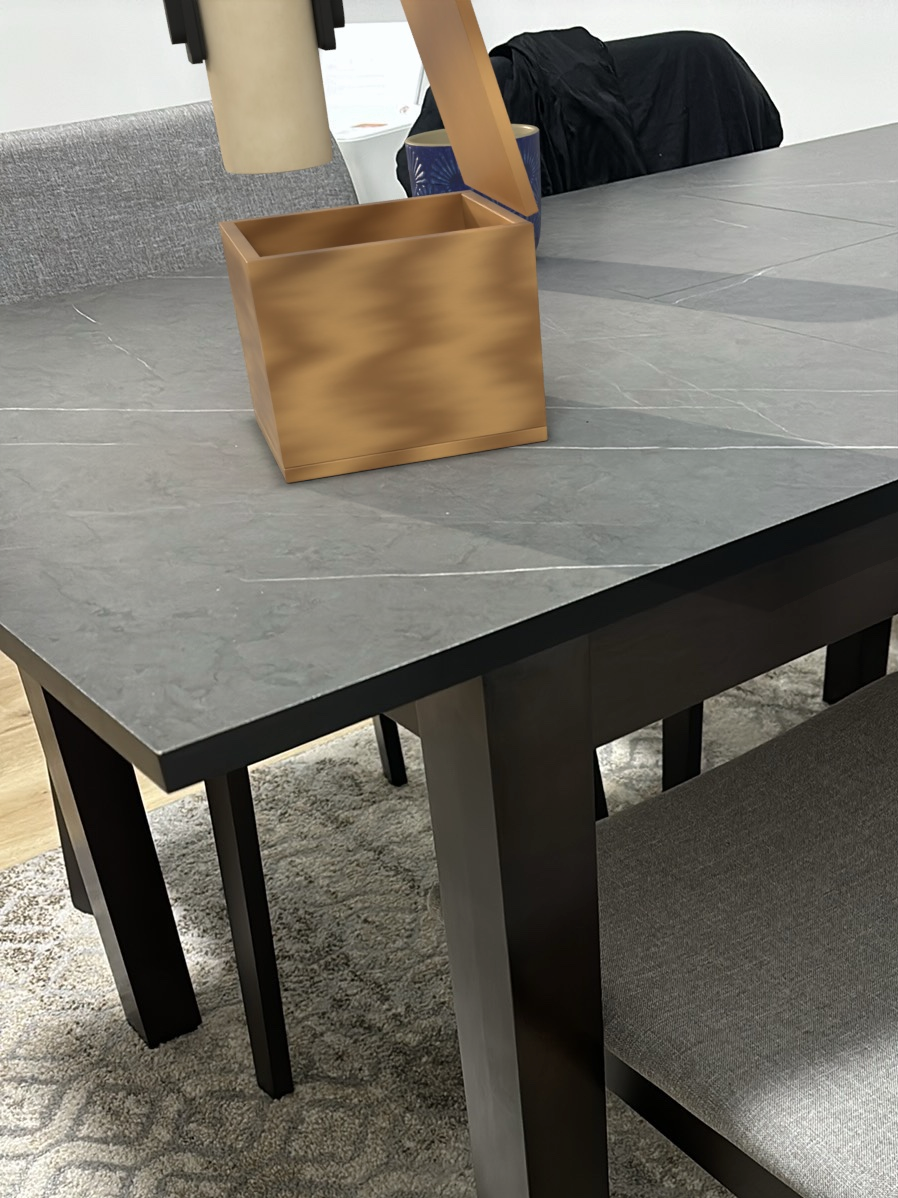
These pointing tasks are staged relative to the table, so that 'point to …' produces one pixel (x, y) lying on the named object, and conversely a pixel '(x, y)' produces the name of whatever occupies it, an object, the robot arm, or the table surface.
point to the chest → (389, 331)
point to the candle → (266, 84)
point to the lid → (470, 100)
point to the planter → (441, 173)
